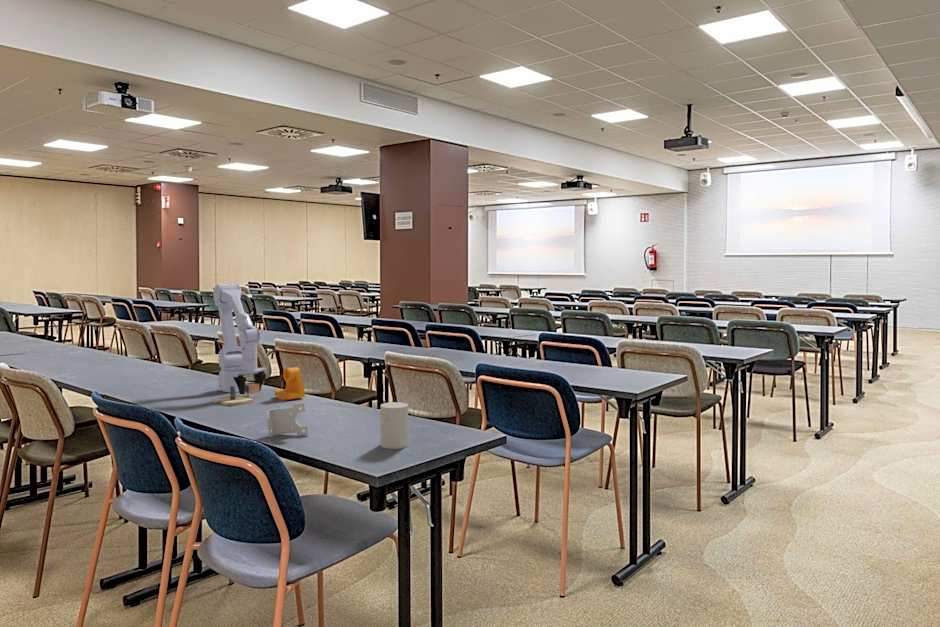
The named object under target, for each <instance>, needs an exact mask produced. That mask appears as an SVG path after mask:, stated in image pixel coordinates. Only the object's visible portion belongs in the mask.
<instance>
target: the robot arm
mask: <svg viewBox="0 0 940 627" xmlns="http://www.w3.org/2000/svg"><path fill="white" fill-rule="evenodd" d="M212 295H213V301H214V305H215V306H216V307H217V309H218V314H219V320H220V326H221V332H222V337H223V338H222V339H223V345H224V346H223V348H221V349H220V350H219V351H218V366H219V368H220V369H221V370H219V373H218V388H217V389H216V390H217V391H220V392H223V393H229V394H230V386H235V393H239V395H241V394H242V395H243V394H245V383H247V382H246V381H247V377H244V376H251V375H253V379H254V383H259V393H260V392H261V391H262V390H261V389H262V386H263V383H264V380H265V378H266V376H267V367H258V343H259V341H260V338H261V333H260V331H259V329H258V328H257V327H256V326H255V325H254V324H253V322H252V319H251V317H250V315H249V314H248V313H246V312H245V310H244V307H243V303H242V300H241V297H242V288H241V285H240V284H238V283H235V284H232V283H231V284H217V283H216V284H215V286H214V287H213V289H212ZM233 314H234V315H235V316H234V317H233ZM234 323H235V324H236V327H237V330H238V339H239V343H240V345H238V343H237V336H236V330H235V324H234Z"/></svg>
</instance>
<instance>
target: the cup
mask: <svg viewBox="0 0 940 627" xmlns="http://www.w3.org/2000/svg"><path fill="white" fill-rule="evenodd" d="M379 408H380V412H379V413H380V415H379V416H380V422H379V423H380V424H379V425H380V447H381V448H384V449H388V450H389V449H390V450H391V449H392V450H393V449H394V450H397V449H403V448H407V447H408V446H409V404H408V403H405V402H398V401H394V402H393V401H392V402H390V401H389V402H385V403H381V404H380V407H379Z"/></svg>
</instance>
